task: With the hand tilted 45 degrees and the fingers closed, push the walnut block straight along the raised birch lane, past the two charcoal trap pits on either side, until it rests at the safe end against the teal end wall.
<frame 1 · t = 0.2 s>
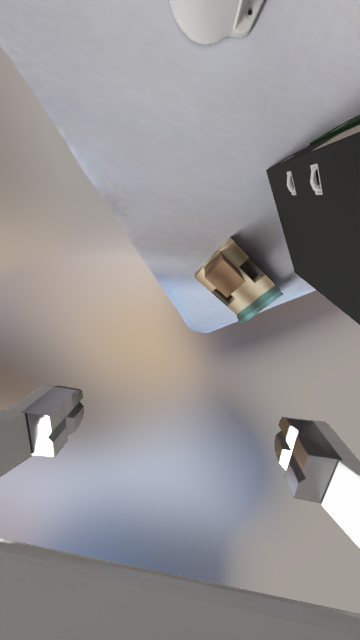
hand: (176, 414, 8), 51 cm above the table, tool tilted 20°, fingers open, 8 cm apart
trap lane: (234, 278, 57), on the table
binders: (309, 214, 46), on the table
walnut block: (222, 269, 53), point 3 cm above the table, touching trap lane
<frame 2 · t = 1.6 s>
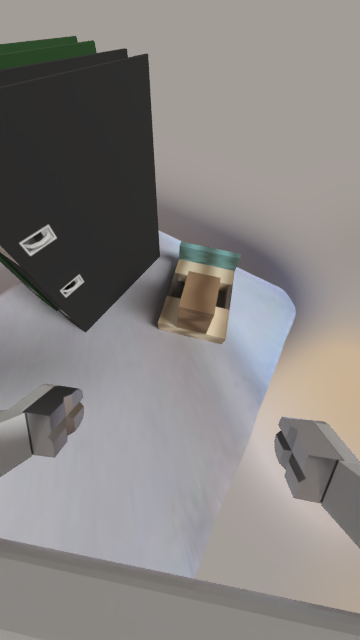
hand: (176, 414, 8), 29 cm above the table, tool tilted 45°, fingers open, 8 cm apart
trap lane: (198, 299, 45), on the table
binders: (108, 277, 47), on the table
walnut block: (195, 314, 39), point 3 cm above the table, touching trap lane
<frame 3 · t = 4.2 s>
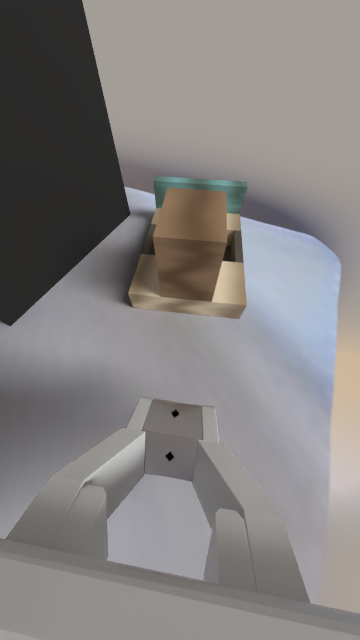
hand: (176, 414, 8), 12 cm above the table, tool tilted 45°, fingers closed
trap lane: (192, 260, 30), on the table
binders: (54, 247, 31), on the table
walnut block: (189, 274, 24), point 3 cm above the table, touching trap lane
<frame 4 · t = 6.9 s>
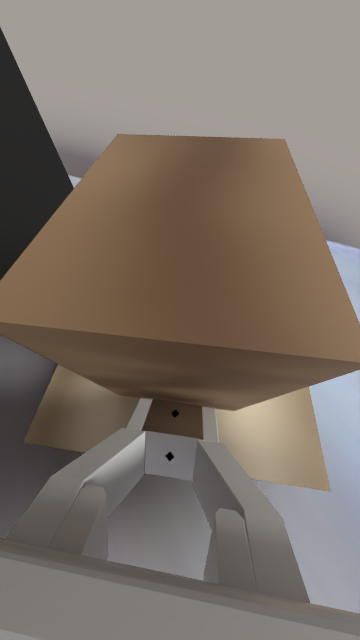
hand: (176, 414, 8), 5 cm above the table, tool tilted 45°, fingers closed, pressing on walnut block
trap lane: (188, 313, 16), on the table
walnut block: (184, 333, 12), point 3 cm above the table, touching gripper, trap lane
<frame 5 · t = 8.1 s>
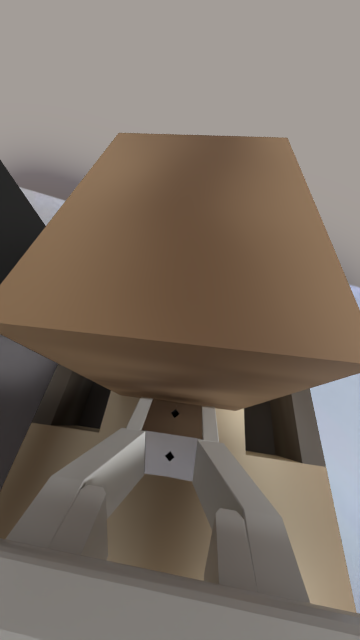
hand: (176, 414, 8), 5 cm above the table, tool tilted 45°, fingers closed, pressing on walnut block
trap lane: (179, 388, 13), on the table
walnut block: (185, 333, 12), point 3 cm above the table, touching gripper
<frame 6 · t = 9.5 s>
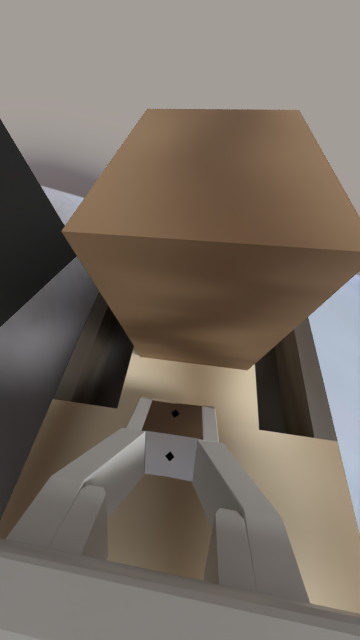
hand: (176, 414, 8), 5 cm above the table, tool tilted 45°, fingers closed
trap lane: (190, 372, 13), on the table
walnut block: (199, 305, 12), point 3 cm above the table, touching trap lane
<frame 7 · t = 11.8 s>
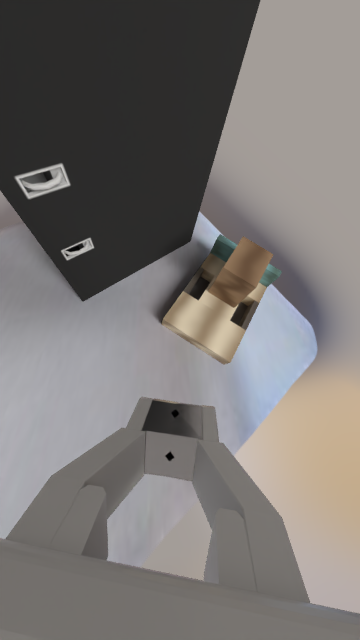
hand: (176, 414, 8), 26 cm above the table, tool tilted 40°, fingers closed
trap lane: (215, 305, 39), on the table
binders: (126, 247, 41), on the table
walnut block: (229, 285, 38), point 3 cm above the table, touching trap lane
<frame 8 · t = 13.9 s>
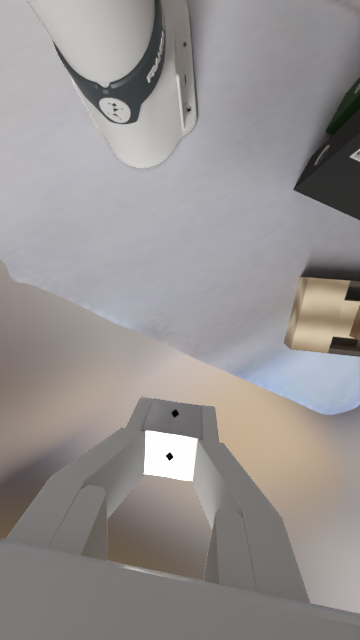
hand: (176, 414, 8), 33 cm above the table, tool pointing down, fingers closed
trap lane: (343, 316, 37), on the table
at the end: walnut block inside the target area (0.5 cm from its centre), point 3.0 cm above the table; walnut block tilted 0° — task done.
